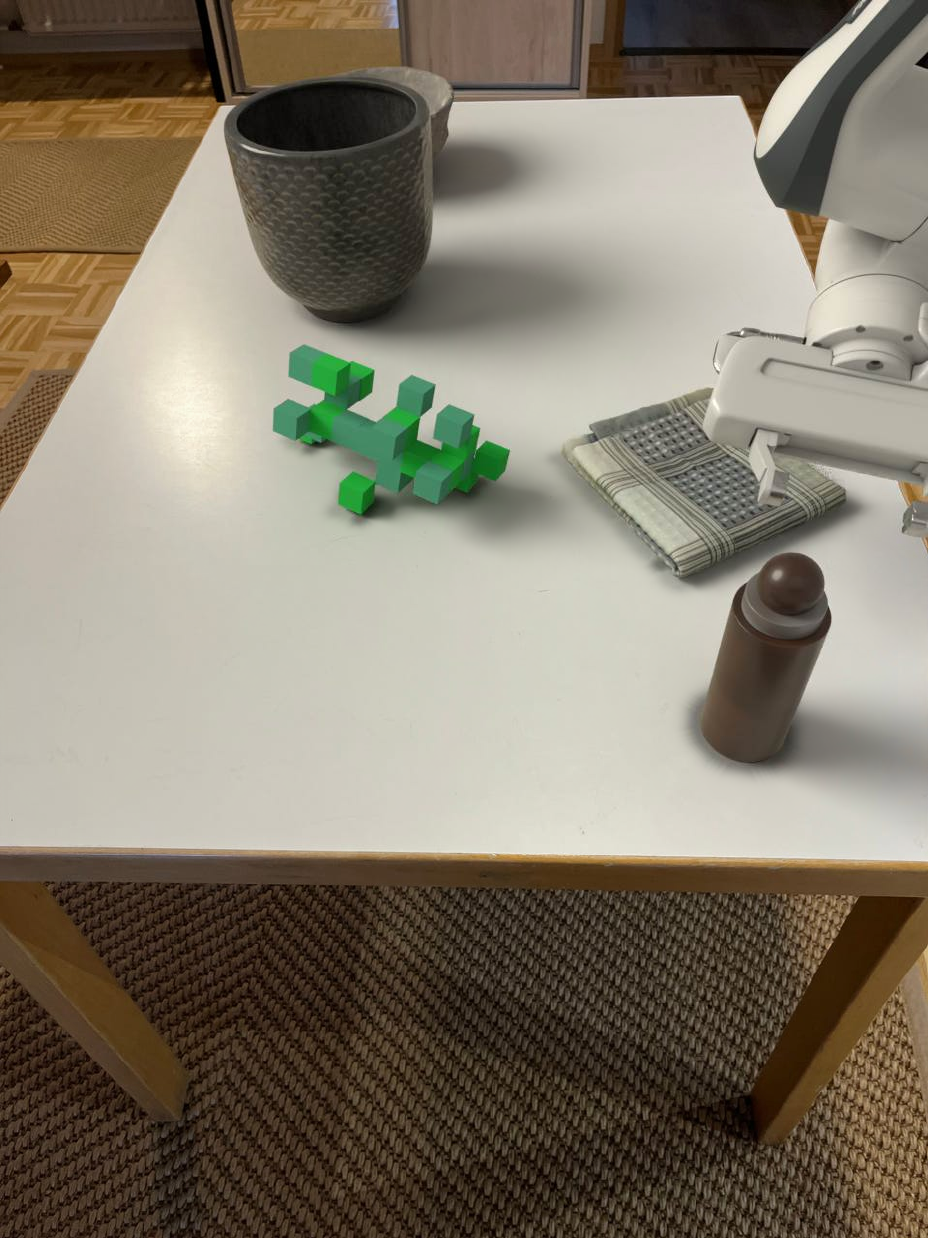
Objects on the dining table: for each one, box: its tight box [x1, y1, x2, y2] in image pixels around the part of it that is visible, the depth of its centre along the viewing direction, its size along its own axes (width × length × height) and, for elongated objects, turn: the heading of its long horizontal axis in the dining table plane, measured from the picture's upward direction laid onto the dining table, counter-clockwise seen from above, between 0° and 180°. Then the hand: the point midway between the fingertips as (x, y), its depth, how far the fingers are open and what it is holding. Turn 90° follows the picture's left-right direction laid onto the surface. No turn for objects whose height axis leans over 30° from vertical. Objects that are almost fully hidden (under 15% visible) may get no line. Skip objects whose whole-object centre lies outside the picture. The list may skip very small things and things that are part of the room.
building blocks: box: [272, 343, 511, 515], centre depth 78 cm, size 20×12×13 cm, turn 79°
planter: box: [223, 75, 434, 323], centre depth 95 cm, size 20×20×19 cm
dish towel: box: [560, 387, 847, 578], centre depth 78 cm, size 19×18×3 cm
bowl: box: [328, 66, 455, 160], centre depth 118 cm, size 21×21×10 cm
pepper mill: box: [700, 551, 833, 763], centre depth 57 cm, size 6×6×16 cm
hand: (843, 516), depth 60 cm, fingers open, 8 cm apart
